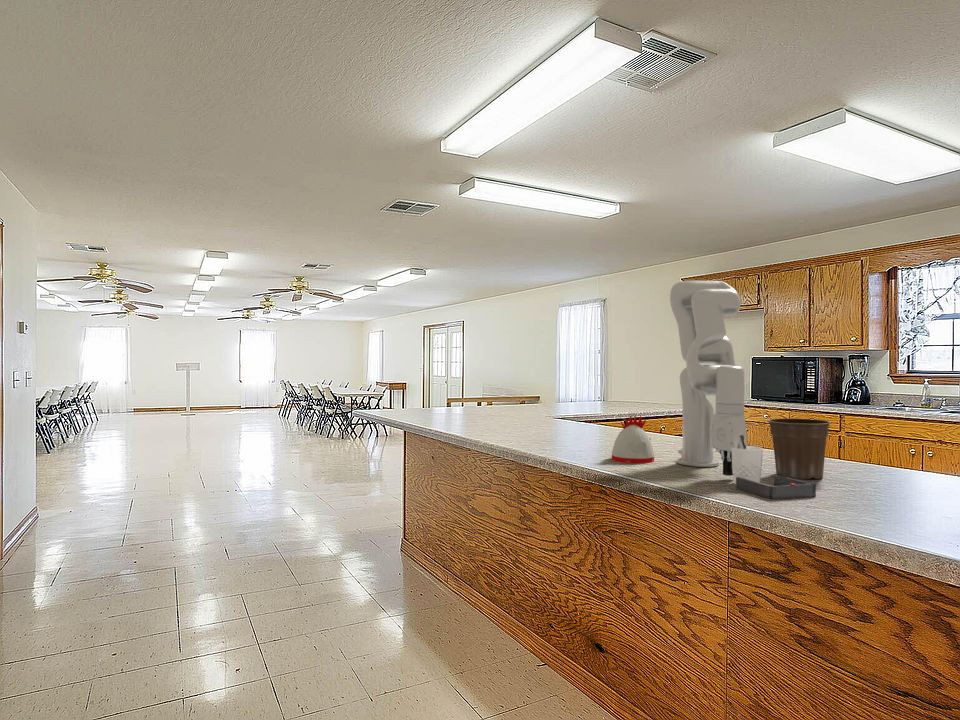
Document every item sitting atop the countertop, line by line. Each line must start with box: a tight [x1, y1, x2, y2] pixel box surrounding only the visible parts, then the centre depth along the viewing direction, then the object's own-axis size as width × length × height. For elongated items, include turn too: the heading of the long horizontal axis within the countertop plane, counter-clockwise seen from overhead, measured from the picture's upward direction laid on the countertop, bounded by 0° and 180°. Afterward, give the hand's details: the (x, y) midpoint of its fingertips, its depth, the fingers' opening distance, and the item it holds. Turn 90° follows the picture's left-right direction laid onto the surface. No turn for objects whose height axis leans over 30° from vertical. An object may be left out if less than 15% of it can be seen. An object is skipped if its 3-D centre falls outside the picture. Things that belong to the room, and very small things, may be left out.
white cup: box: [731, 445, 764, 486], centre depth 168 cm, size 8×8×10 cm
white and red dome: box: [611, 415, 655, 464], centre depth 208 cm, size 14×14×15 cm
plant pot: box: [767, 417, 832, 480], centre depth 180 cm, size 16×16×16 cm
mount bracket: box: [735, 474, 817, 500], centre depth 158 cm, size 13×13×3 cm
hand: (729, 474), depth 175 cm, fingers closed
